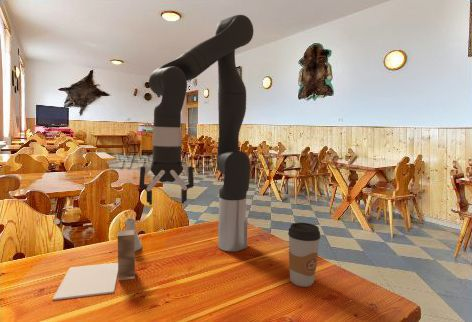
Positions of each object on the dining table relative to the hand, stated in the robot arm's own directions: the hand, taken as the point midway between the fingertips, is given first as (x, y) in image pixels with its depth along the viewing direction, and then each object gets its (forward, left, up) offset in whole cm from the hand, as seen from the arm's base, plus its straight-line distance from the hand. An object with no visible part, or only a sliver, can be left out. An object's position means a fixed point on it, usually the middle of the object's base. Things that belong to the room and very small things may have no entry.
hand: (166, 203), depth 81 cm
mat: (+19, 0, -19) cm, 27 cm away
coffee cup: (-35, +14, -20) cm, 42 cm away
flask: (+10, -19, -20) cm, 29 cm away
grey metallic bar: (+10, 0, -19) cm, 22 cm away
